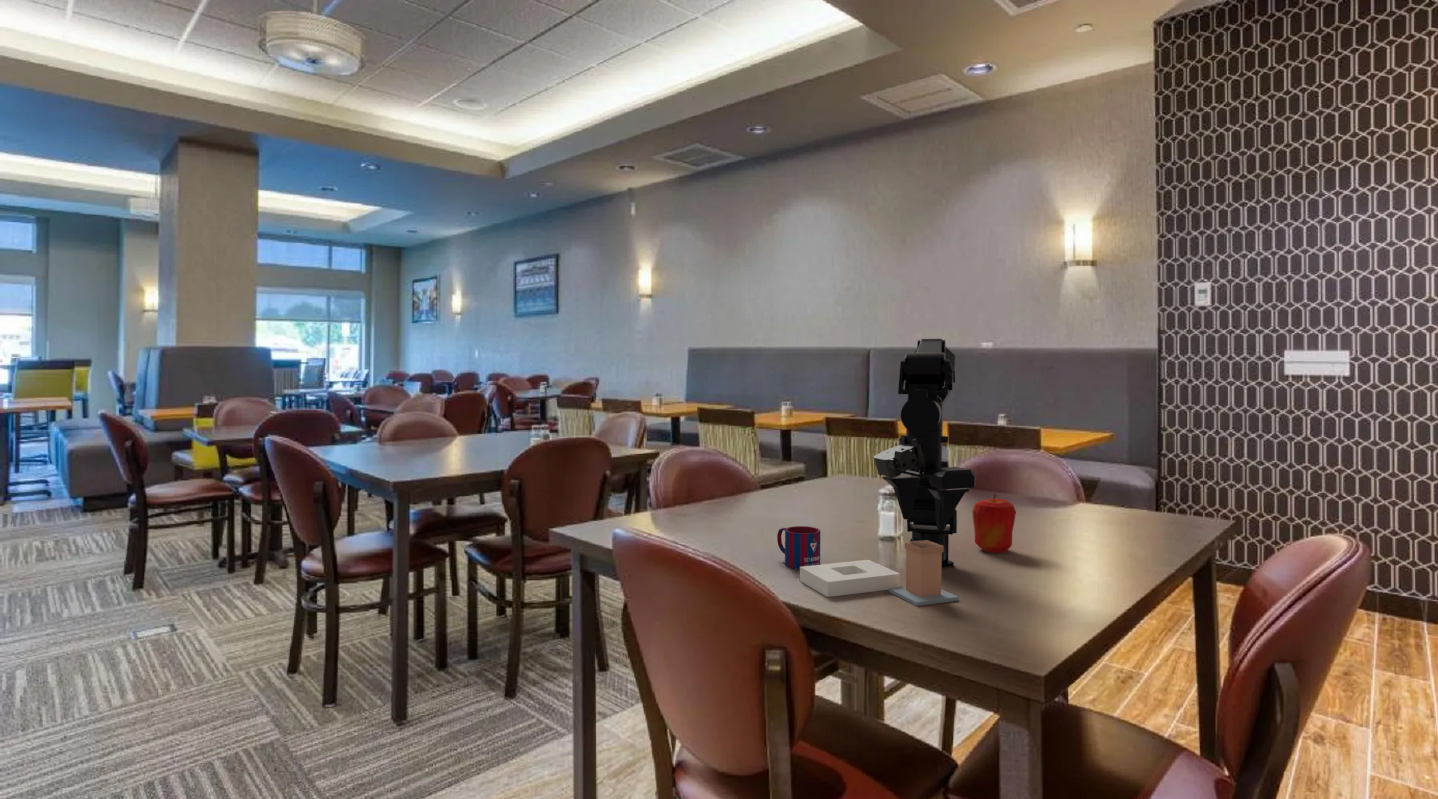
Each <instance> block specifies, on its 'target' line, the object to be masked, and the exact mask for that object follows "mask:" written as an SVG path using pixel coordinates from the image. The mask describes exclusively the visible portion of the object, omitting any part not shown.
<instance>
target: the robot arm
mask: <svg viewBox="0 0 1438 799" xmlns="http://www.w3.org/2000/svg"><path fill="white" fill-rule="evenodd" d="M916 345H917V347H916V350H915V351H913V352H906V353H905V354H904V359H900V365H899V376H898V377H899V378H898V389H897V394H898V395H907V401H906V402H905V403H904V404H903V406H902V408H901V411H900V421H901V423H902V425H903V427H904V428H905V430H906V432H905V434H901V435H900V437H899V438H898V442H899V443H898V445H896V446H893V447H892V446H891V447H889V448H887V449H885V450H884V451H881V452H879V453H877V454H875V455H874V456H873V461H874V465H875V468H876V470H877V474H878V476H882V479H883V481H885V482H887V483H888V484H889V485H890V486H891V487H892V488H893V490H894V494H895V496H896V499H897V502H898V506H899V509H900V512H901V513H900V514H901V516H902V519H903V520H905V521H906V532H907V533H908V532H909V533H911V538H910V540H909V542H914V541H924V540H928V541H931V542H933V543H936V544H939V545H942V546H944V552H942V567H943V566H944V567H945V566H952V565H953V566H954V563H955V561H952V560H949V548H950V547H949V541H950V540H949V535H951V536H953V534H957V533H958V531H957V530H958V511H957V506H958V505H959V503H960V502H961V500H962V498H963V497H964V496H965V494H966V493H969V492H970V490H971V489H974V488H975V487H976V474H975V473H974V472H973V470H972V469H970V468H965V467H959V466H948V464H949V463H948V461H947V460H943V444H947V443H949V436H946V435H943V433H944V432H943V429H944V405H945V404H946V402H947V401H948V399H949V397H950V396H951V394H952V392H953V384H956V377H957V376H956V374H957V372H956V370H957V369H956V368H957V367H956V366H957V364H956V363H957V362H956V355H955V353H953V352H952V351H951V350H950V349H949V348H947V346H946V339H942V338H921V339H919V340H917V344H916ZM947 525H949V526H947Z"/></svg>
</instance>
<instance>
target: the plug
mask: <svg viewBox="0 0 1438 799" xmlns="http://www.w3.org/2000/svg"><path fill="white" fill-rule="evenodd" d="M904 549H906V552H905V554H906V556H905V557H906V558H905V564H906V565H905V568H906V569H905V570H906V571H905V573H906V574H905V586H906V590H907V591H909V592H911V593H913V594H915V595H917V596H919V597H925V596H933V595H940V594H941V589H942V567H943V566H942V552H944V546H942V545H939V544H936V543H933V542H931V541H928V540H924V541H914V542H910V541H905V542H904Z"/></svg>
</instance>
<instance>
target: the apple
mask: <svg viewBox="0 0 1438 799" xmlns="http://www.w3.org/2000/svg"><path fill="white" fill-rule="evenodd" d="M996 497H997V495H996V494H994V496H993V498H987V499H985V498H984V499H981V500H979V501H977V502H975V503H974V504H973V506H972V510H971V511H972V515H971V516H972V521H973V522H972V523H973V529H974V543H975V544H976V545H977V546H978V547H979V549H981V550H983V551H984V552H987V553H991V554H993V553H994V554H1003V553H1006V552H1008V550H1009V549H1010V548H1011V547H1012V546H1013V530H1014V526H1015V522H1016V521H1015V520H1016V515H1017V511H1016V508H1015V506H1014V504H1013V503H1012V502H1010V501H1008V500H1006V499H1004V498H996Z"/></svg>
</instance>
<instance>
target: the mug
mask: <svg viewBox="0 0 1438 799" xmlns="http://www.w3.org/2000/svg"><path fill="white" fill-rule="evenodd" d="M783 532H784V545H783V540H782V535H783ZM776 541H777V545H778V549H779V550H780V551H781V552H782V554H784V565H785V566H786V567H787V568H790V569H795V570H800V567H803V566H812V565H821V529H820V528H818V527H814V526H807V525H804V526H803V525H797V526H796V525H795V526H789V527H781V528H779V529H778V532H777V536H776Z"/></svg>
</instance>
